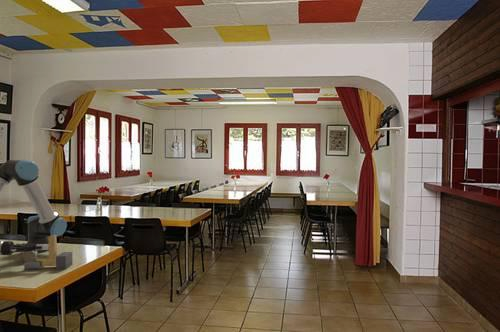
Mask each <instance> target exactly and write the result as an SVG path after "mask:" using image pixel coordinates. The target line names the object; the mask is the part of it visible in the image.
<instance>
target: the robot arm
mask: <svg viewBox="0 0 500 332" xmlns="http://www.w3.org/2000/svg"><path fill="white" fill-rule="evenodd" d="M39 171H40V170H39V167H38V165H37V163H36V162H34V161H33V160H29V159H11V160H6V161H5V162H3V163H2V164H0V195H1V194H2V192H3V190H4V189H5V188H6V187H7V186H9V185H10V183H11V182H13V180H15V183H16V184H17V185H18V186H19V187H22V189H23V190H24V192H25V193H26V196H27V198H28V199H29V201H30V203H31V204H32V207H33V208H34V210H35V212H36V214H37V215H34V216H33V215H32V216H29V217H28V218H27V242H26V243H25V242H23V243H15V244H14V242H13V241H12V240H5V241H4V240H3V241H2V240H1V241H0V256H12V254H15V253H23V252H27V251H33V250H34V252H35V251H36V250H37V251H38V254H39V253H44V252H49V236H52V235H57V237H59V236H62V235H63V234H64V233H65V232H66V230H67V226H68V224H67V223H68V222H67V220H66V219H64V218H63V217H60V215H59V213H58V212H57V211H54V210H53V209H54V208H52V206H51V203H50V202H49V200H48V198H47V196H46V194H45V193H44V190H43V189H42V187H41V185H40V183H39Z"/></svg>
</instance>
